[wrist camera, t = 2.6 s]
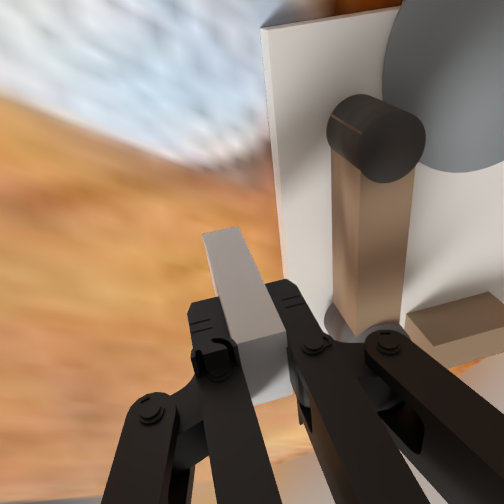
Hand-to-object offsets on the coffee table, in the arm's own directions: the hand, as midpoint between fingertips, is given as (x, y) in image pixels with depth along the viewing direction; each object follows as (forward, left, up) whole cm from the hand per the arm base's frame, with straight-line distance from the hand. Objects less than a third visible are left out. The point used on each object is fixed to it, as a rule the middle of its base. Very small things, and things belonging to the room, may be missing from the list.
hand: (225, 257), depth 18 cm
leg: (+2, +7, -3) cm, 8 cm away
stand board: (+1, +12, -4) cm, 12 cm away
